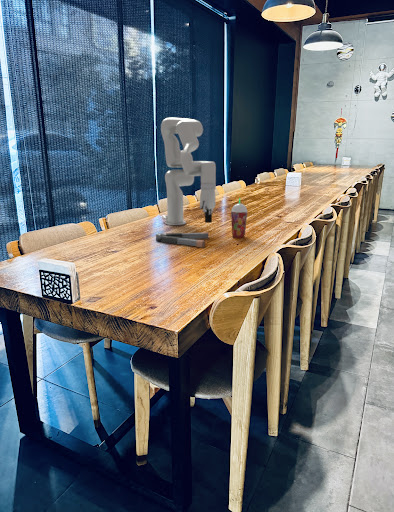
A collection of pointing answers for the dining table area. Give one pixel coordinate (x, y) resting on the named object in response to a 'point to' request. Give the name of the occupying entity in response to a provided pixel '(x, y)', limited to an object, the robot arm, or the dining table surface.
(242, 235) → the smoothie
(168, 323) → the dining table surface
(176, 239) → the bar
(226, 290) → the dining table surface
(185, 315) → the dining table surface
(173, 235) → the tongs moving jaw
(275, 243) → the dining table surface
